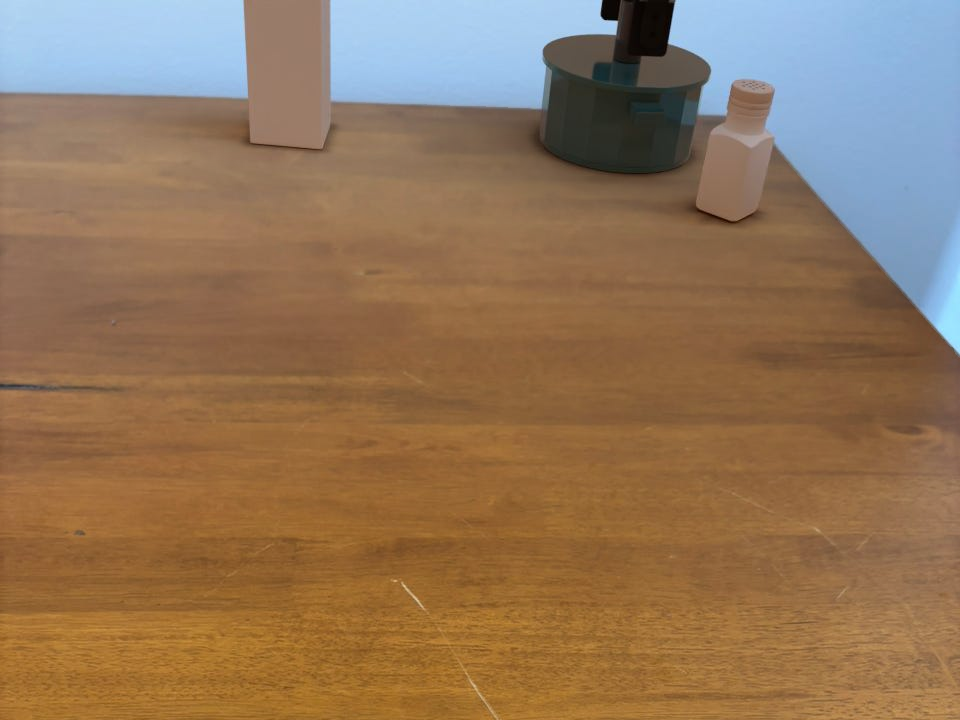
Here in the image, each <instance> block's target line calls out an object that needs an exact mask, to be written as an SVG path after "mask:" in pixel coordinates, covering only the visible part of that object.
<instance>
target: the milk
mask: <svg viewBox="0 0 960 720" xmlns="http://www.w3.org/2000/svg"><path fill="white" fill-rule="evenodd" d="M243 21H244V41H245V60H246V61H245V62H246V79H247V80H246V82H247V97H248V98H247V101H248V102H247V103H248V105H247V106H248V122H249V123H248V124H249V142H250V144H257V145H268V146H269V145H270V146H280V147H289V148H290V147H291V148H301V149H302V148H303V149H310V150H311V149H313V150H323V147H324V145H325V142H326V139H327V136H328V134H329V131H330V128H331V124H332V101H331V99H332V97H331V96H332V94H331V93H332V91H331V90H332V88H331V87H332V85H331V84H332V83H331V81H332V80H331V79H332V77H331V76H332V75H331V74H332V73H331V72H332V71H331V70H332V69H331V63H332V62H331V60H332V59H331V57H332V56H331V54H332V53H331V50H332V49H331V0H243Z"/></svg>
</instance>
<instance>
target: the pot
mask: <svg viewBox="0 0 960 720" xmlns="http://www.w3.org/2000/svg"><path fill="white" fill-rule="evenodd" d="M704 88H705V85H703V86H701V87H699V88H696V89H694V90H690V91H685V92H679V93H668V94H642V93H629V92H620V91H613V90H608V89H602V88H598V87H593V86H589V85H586V84H582V83H579V82H576V81H573V80H570V79H568V78H565V77H563V76H561V75H559V74H557V73H555V72H554V71H552V70H551V69H549V68H548V67H547V66H546V65H545V73H544V83H543V93H542V102H541V109H540V120H539V127H538V131H539V133H540V134H539V140H540V143H541V144H542V146H543V147H544V148H545V149H546V150H547V151H549V152H550V153H551V154H553V155H554V156H556V157H558V158H560V159H562V160H565V161H567V162H568V163H569V162H570V163H571V164H575V165H578V166H581V167H586V168H589V169H592V170H599V171H603V172H611V173H619V174H653V173H661V172H667V171H670V170H674V169H676V168H678V167H681V166H683V165H684V164H685V163H687V162H688V160H689V158H690V156H691V150H692V148H693V144H694V139H695V135H696V129H697V123H698V119H699V114H700V108H701V103H702V99H703V93H704Z"/></svg>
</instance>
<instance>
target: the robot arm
mask: <svg viewBox="0 0 960 720" xmlns="http://www.w3.org/2000/svg"><path fill="white" fill-rule="evenodd" d="M676 1H677V0H633V6H632V12H631V19H630V26H629V33H628V40H627V46H626V51H627V52H628V54H629V55H631V56H651V57H663V56H664V55H665V54H666V52H667V47H668V44H669V40H670V36H671V35H670V34H671V28H672V23H673V16H674V10H675V4H676ZM620 2H621V0H601V6H600V17H601V19H602V20H603V21H609V22H612V21H613V22H618V16H619V9H620Z"/></svg>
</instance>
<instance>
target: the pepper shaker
mask: <svg viewBox="0 0 960 720" xmlns="http://www.w3.org/2000/svg"><path fill="white" fill-rule="evenodd" d="M775 92H776V88H775V87H774V86H773V85H772V84H770V83H768V82H765V81H762V80H757V79H750V78H740V79H735V80H734V81H733V82H731V86H730V91H729V95H728V100H727V104H726V111H727V112H726V115H725V121H724V122H722V123H720V124H718V125H717V126H715V127H714V128H713V129H711V131H710V132H709V135H708V141H707V145H706V149H705V150H706V151H705V156H704V161H703V166H702V170H701V175H700V180H699V184H698V191H697V193H696V194H697V195H696V200H695V206H696V208H697V209H698V210H701V211H702V212H705V213H708V214H710V215H713V216H716V217H719V218H722V219H724V220H727V221H729V222H738V221H739V220H740V221H741V219H743V218H745V217H748V216H749V215H752V214H753V213H755V212H756V211H757V209H758V208H759V205H760V202H761V197H762V193H763V191H764V186H765V181H766V177H767V173H768V169H769V164H770V160H771V156H772V152H773V147H774V143H775V136H774V134H773V133H772V132H771V131H769V129H768V130H767V129H766V124H767V120H768V117H770V114H771V109H772V104H773V100H774V96H775Z"/></svg>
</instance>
